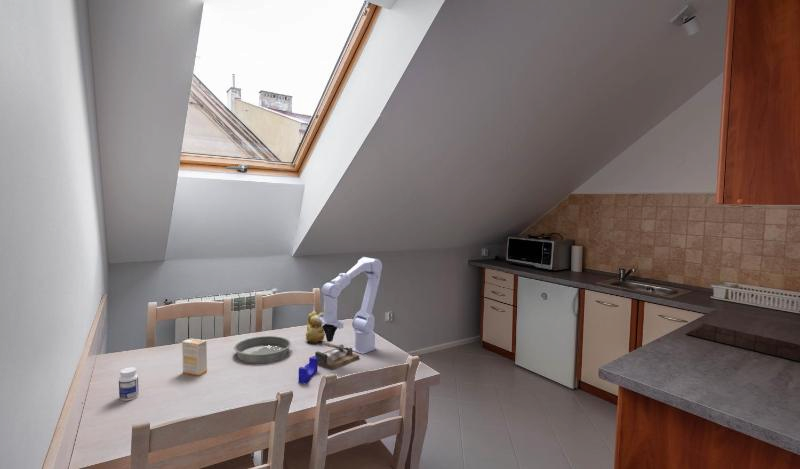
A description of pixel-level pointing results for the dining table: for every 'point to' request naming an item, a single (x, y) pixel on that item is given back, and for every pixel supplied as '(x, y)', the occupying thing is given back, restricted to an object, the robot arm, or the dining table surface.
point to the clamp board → (335, 357)
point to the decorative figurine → (314, 328)
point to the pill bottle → (128, 384)
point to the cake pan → (263, 349)
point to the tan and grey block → (334, 346)
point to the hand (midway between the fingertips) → (329, 341)
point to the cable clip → (308, 370)
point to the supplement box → (194, 356)
